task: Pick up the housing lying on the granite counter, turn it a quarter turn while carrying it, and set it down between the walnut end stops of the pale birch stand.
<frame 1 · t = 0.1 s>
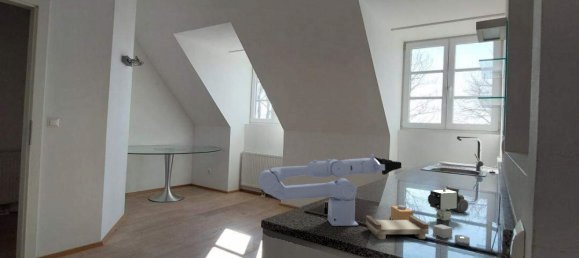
hand: (396, 164, 115), 22 cm above the counter, fingers open, 7 cm apart
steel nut: (461, 243, 95), on the counter
stand: (395, 233, 103), on the counter
rubber block: (442, 235, 102), on the counter
pneumatic valve: (442, 219, 121), on the counter
housing: (401, 221, 116), on the counter
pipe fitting: (452, 210, 136), on the counter
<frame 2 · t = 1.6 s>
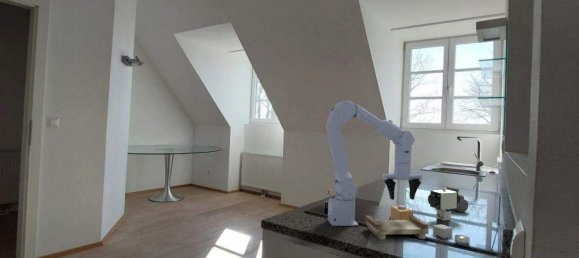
hand: (401, 199, 116), 8 cm above the counter, fingers open, 7 cm apart
nothing on the counter moved.
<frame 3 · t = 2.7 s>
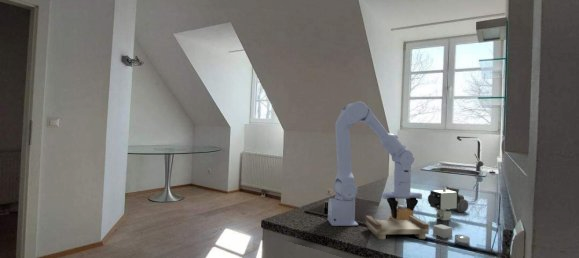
hand: (401, 217, 116), 1 cm above the counter, fingers closed on housing, 5 cm apart
housing: (401, 221, 116), on the counter, touching gripper
everything else where it was.
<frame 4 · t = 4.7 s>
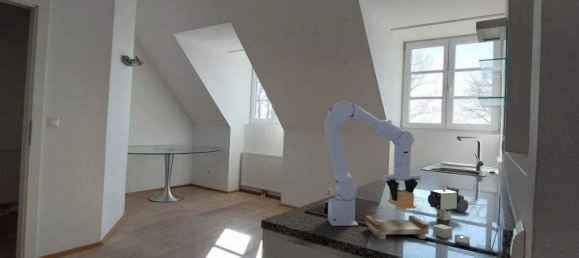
hand: (401, 200, 115), 8 cm above the counter, fingers closed on housing, 5 cm apart
housing: (401, 205, 115), point 7 cm above the counter, touching gripper
everything else where it was.
when the fingers open (5 cm above the counter, at t = 6.8 s): housing stays where it is, resting on stand.
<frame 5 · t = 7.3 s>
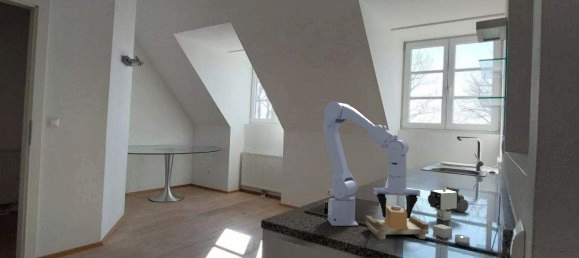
hand: (396, 217, 103), 5 cm above the counter, fingers open, 7 cm apart
housing: (395, 224, 103), point 3 cm above the counter, touching stand
everything else where it was.
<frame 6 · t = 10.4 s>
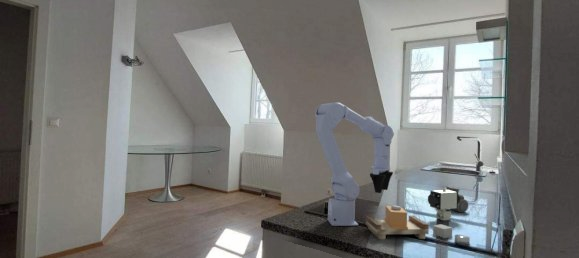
hand: (381, 191, 121), 10 cm above the counter, fingers open, 7 cm apart
nothing on the counter moved.
at the end: housing 0.3 cm off-centre on the stand, point 3.0 cm above the stand's base; housing tilted 0°; the gripper is holding nothing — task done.
